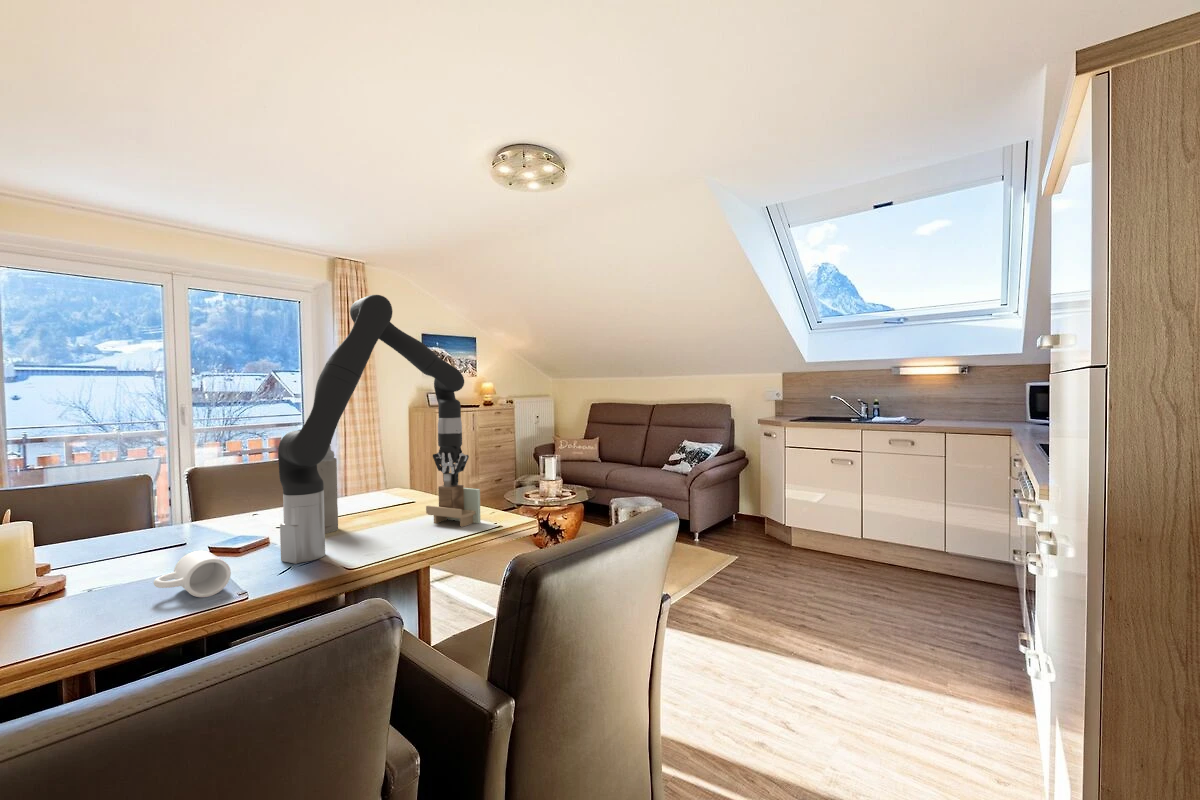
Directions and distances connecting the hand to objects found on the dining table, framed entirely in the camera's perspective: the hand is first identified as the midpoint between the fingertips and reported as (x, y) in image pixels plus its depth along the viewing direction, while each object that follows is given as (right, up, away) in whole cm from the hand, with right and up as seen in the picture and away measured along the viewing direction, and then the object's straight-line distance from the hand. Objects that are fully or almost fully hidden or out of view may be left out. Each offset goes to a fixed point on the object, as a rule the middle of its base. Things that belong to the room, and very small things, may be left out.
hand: (450, 484), depth 167 cm
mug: (-40, -15, -56) cm, 70 cm away
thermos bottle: (-38, -14, -6) cm, 41 cm away
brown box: (0, -8, 0) cm, 8 cm away
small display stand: (0, -13, +1) cm, 13 cm away
